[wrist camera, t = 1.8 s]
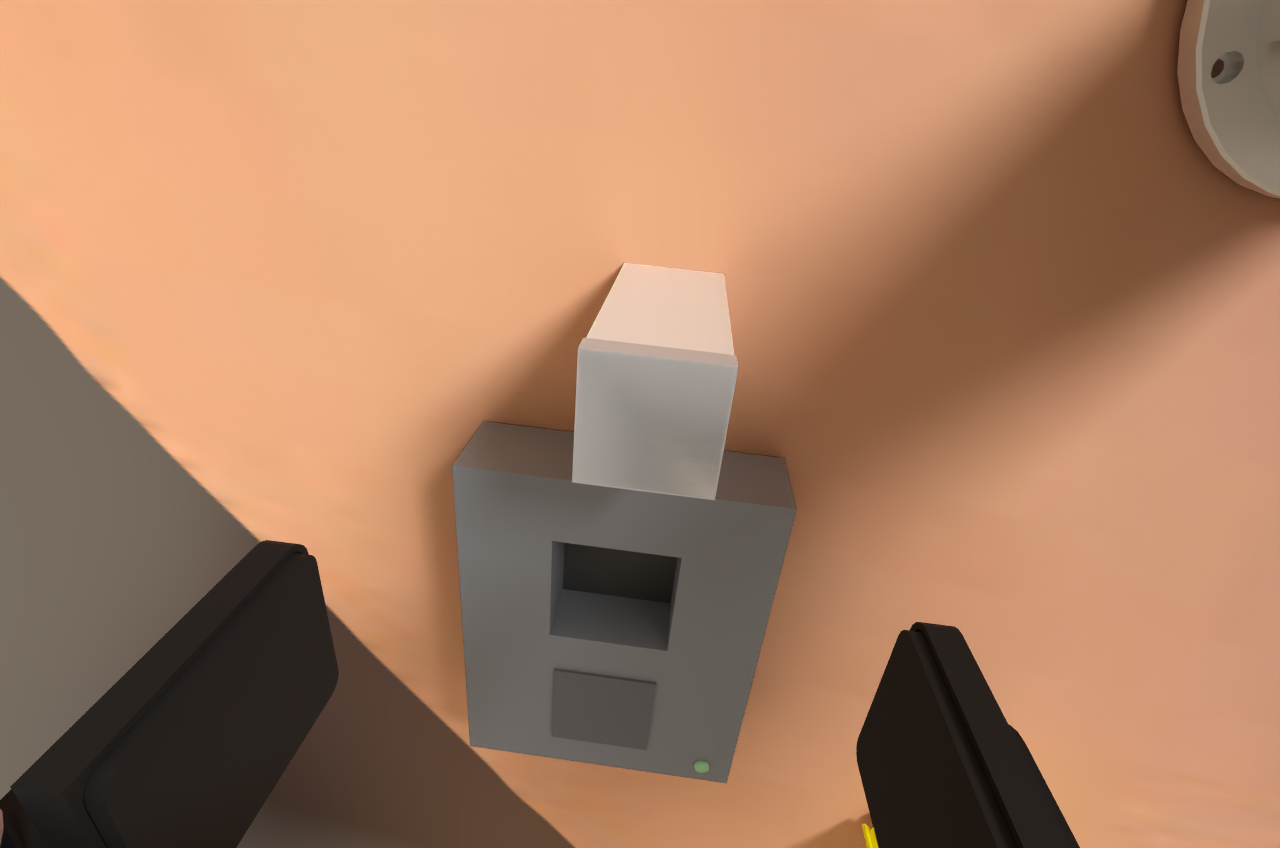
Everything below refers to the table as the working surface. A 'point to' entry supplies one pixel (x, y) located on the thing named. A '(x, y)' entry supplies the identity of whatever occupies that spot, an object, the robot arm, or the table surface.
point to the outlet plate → (612, 605)
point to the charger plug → (656, 384)
